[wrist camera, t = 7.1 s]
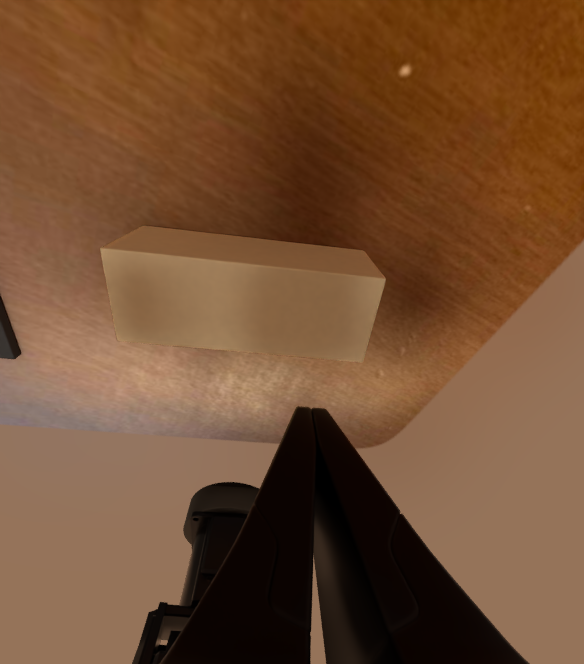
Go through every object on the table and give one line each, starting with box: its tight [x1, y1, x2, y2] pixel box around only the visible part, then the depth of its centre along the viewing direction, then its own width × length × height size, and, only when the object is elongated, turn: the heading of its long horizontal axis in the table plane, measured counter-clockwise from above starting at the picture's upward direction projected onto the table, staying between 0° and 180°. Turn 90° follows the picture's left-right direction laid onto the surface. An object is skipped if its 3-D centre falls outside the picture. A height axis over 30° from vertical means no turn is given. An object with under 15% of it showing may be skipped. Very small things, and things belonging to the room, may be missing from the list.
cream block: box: [100, 225, 386, 363], centre depth 16 cm, size 4×4×12 cm
